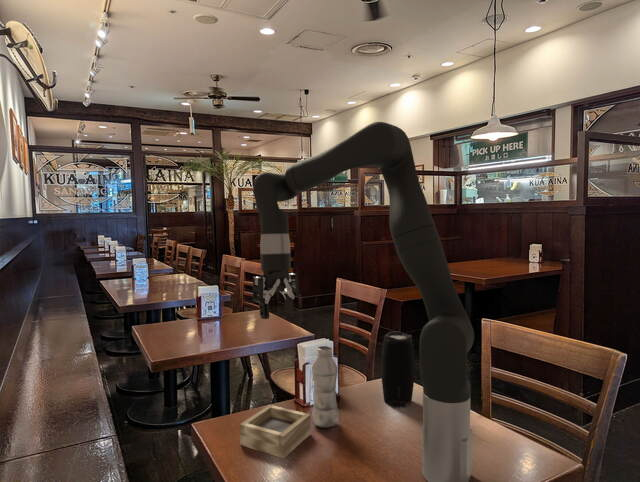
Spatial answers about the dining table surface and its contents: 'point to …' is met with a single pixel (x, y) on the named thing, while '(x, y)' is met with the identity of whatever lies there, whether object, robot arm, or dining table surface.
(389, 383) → the portable speaker
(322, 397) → the plastic bottle
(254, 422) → the stand
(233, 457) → the dining table surface
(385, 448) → the dining table surface
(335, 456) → the dining table surface
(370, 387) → the dining table surface
